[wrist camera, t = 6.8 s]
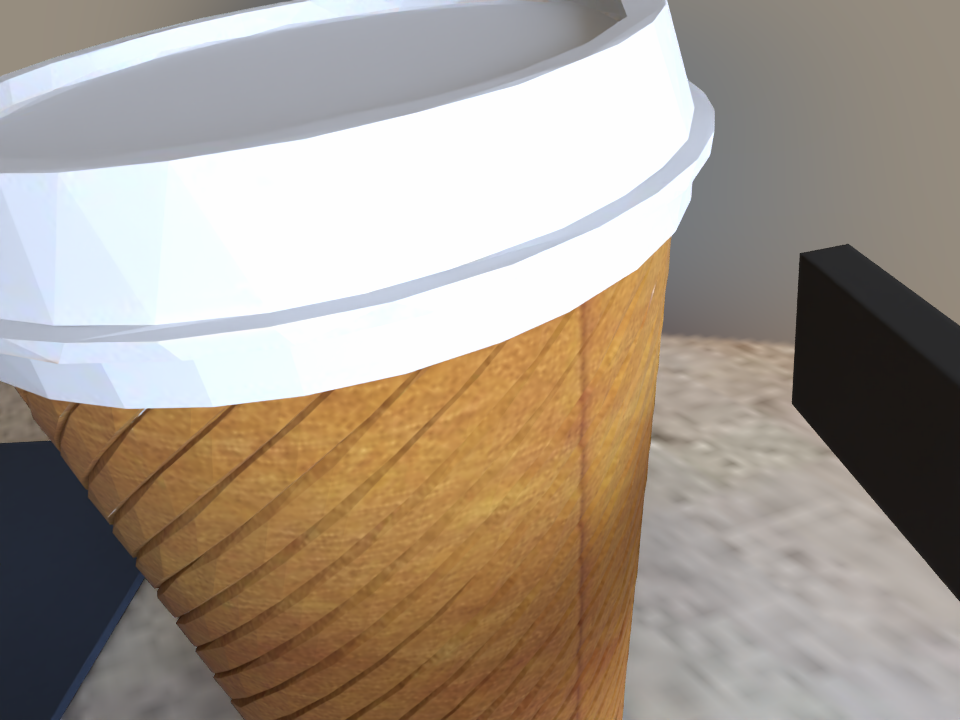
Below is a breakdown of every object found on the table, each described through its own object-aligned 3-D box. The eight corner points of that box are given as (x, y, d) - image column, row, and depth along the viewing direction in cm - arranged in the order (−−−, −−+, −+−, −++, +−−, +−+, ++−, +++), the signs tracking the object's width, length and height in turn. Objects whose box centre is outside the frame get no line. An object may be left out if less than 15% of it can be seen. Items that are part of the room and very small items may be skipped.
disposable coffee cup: (199, 607, 19) (-40, 59, 13) (591, 486, 21) (539, -51, 15) (200, 1112, 11) (-404, 314, 5) (836, 853, 13) (939, 14, 7)
